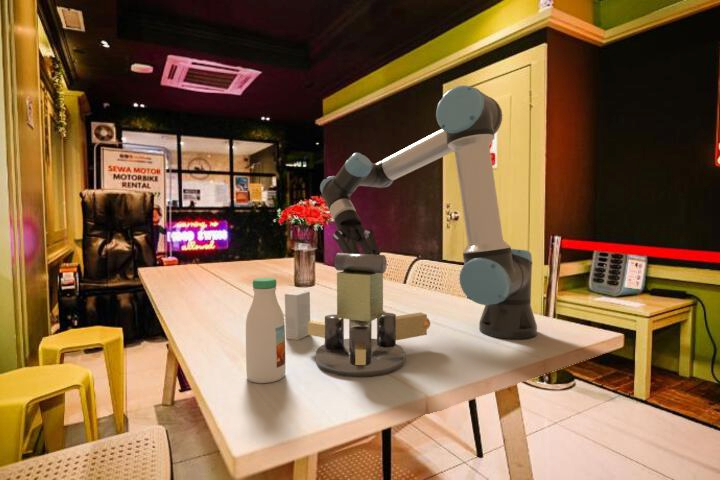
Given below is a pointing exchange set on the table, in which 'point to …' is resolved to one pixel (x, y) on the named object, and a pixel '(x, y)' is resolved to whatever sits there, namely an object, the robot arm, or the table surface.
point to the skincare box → (297, 314)
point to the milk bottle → (265, 334)
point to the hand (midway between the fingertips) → (373, 277)
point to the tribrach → (356, 321)
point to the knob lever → (400, 328)
